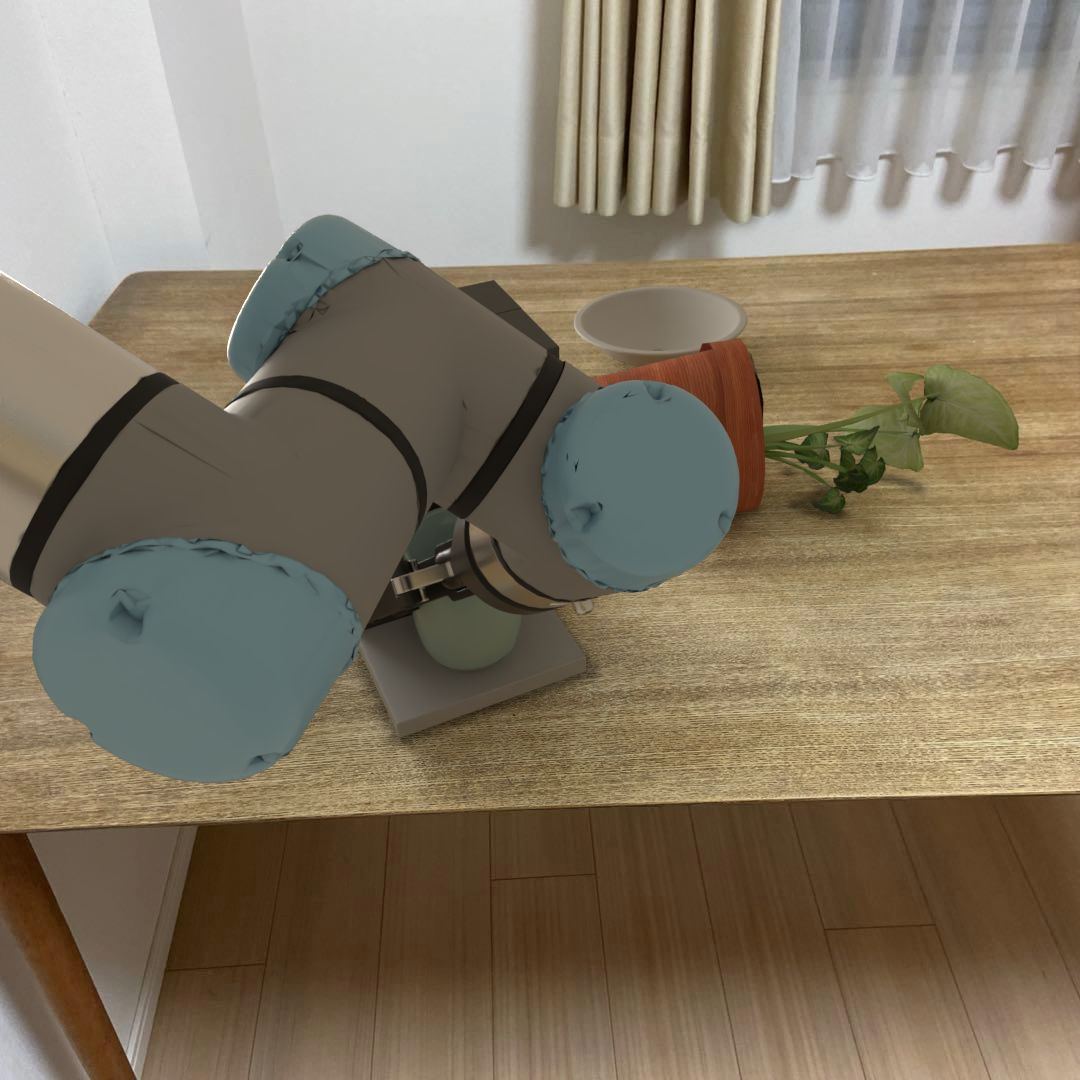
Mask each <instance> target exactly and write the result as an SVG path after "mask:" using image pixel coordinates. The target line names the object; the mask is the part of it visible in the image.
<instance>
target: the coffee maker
mask: <svg viewBox="0 0 1080 1080" xmlns="http://www.w3.org/2000/svg"><path fill="white" fill-rule="evenodd" d="M457 288H458V289H460V290H461V291H463V292H464V293H465V294H467V295H468V296H470V297H471V298H473V299H474V300H476V301H477V302H478V303H480V304H481V305H483V306H484V307H486V308H487V309H488V310H490V311H491V312H493V313H494V314H496V315H497V316H499V317H500V318H501V319H503V320H504V321H506V322H507V323H509V324H510V325H512V326H513V327H514V328H516V329H517V330H519V331H520V332H522V333H523V334H524V335H526V336H527V337H529V338H530V339H532V340H533V341H535V342H536V343H537V344H539V345H540V346H542V347H543V348H545V349H546V350H547V352H549V353H551V354H553V355H554V356H555V357H557V358H558V359H560V346H559V345H558V344H557V343H556V341H554V340H553V338H552V337H550V336H549V334H547V333H546V331H545V330H544V329H543V328H542V327H541V326H540V325H539V324H538V323H536V321H535V320H534V318H532V317H531V316H530V315H529V314H528V313H527V312H526V311H525V310H524V309H523V308H522V306H520V305H519V304H518V303H517V302H516V301H515V299H513V297H512V296H510V294H509V293H508V292H506V290H505V289H504V288H503V287H502V286H501V285H500V284H499V283H498V282H497V281H495V279H492V280H486V281H482V282H478V283H474V284H469V285H464V286H460V287H457ZM437 508H441V506H440V505H438V504H436V503H435V502H433V503H432V505H431V506H430V508H429V510H428V512H429V511H432V510H434V509H437ZM401 560H403V556H402V558H401ZM358 652H359V653H360V656H361V658H362V659H363V661H364V664H365V666H366V668H367V672H369V675H370V678H371V679H372V682H373V684H374V687H375V689H376V691H377V693H378V695H379V697H380V699H381V701H382V704H383V706H384V708H385V710H386V713H387V714H388V717H389V719H390V722H391V724H392V726H393V728H394V731H395V732H396V735H397V737H398V738H399V739H402V738H405V737H407V736H410V735H412V734H415V733H418V732H421V731H424V730H426V729H429V728H433V727H435V726H437V725H441V724H443V723H445V722H449V721H451V720H455V719H457V718H459V717H462V716H465V715H468V714H471V713H474V712H476V711H479V710H483V709H485V708H487V707H490V706H494V705H496V704H498V703H502V702H504V701H508V700H510V699H513V698H516V697H518V696H521V695H524V694H526V693H529V692H533V691H535V690H538V689H540V688H543V687H546V686H548V685H552V684H554V683H558V682H561V681H562V680H565V679H568V678H571V677H574V676H577V675H580V674H582V673H585V672H586V671H587V656H586V655H585V653H584V652H583V650H582V649H581V647H580V646H579V644H578V643H577V642H576V640H575V639H574V637H573V636H572V634H571V633H570V632H569V630H568V628H567V627H566V626H565V624H564V623H563V622H562V620H561V619H560V617H559V616H558V614H557V613H556V611H555V609H553V610H549V611H546V612H542V613H537V614H531V615H522V621H521V627H520V631H519V635H518V638H517V640H516V643H515V645H514V647H513V648H512V650H511V651H510V652H509V653H508V654H507V655H506V656H505V658H503V659H502V660H500V661H499V662H497V663H495V664H493V665H491V666H489V667H486V668H483V669H479V670H474V671H457V670H453V669H449V668H446V667H444V666H442V665H440V664H439V663H438V662H437V661H435V660H434V659H433V658H432V657H431V656H430V655H429V654H428V652H427V651H426V650H425V648H424V647H423V645H422V642H421V640H420V638H419V636H418V634H417V631H416V628H415V625H414V621H413V617H412V613H409V614H407V615H404V616H401V617H398V618H395V619H394V617H393V615H389V616H387V617H384V618H382V619H381V620H380V622H377V623H374V624H372V623H370V624H369V623H367V625H366V627H365V629H364V631H363V633H362V635H361V639H360V643H359V650H358Z"/></svg>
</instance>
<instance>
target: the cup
mask: <svg viewBox="0 0 1080 1080" xmlns="http://www.w3.org/2000/svg"><path fill="white" fill-rule="evenodd" d="M457 518H458V517H457V516H455V515H454V514H452V513H451V512H449V511H448V510H446V509H444V508H443V507H441V508H437V509H434V510H432V511H429V512H427V514H426V515H425V517H424V519H423V521H422V523H421V525H420V526H419V528H418V529H417V531H416V532H415V534H414V536H413V538H412V539H411V541H410V543H409V545H408V547H407V549H406V551H405V552H404V554H403V561H404V560H407V561H409V560H412V559H416V560H417V563H419V562H421V561H423V560H426V559H428V558H430V557H433V556H434V554H435V547H436V546H437V545H439V544H441V543H444V542H446V541H448V540H451V539H453V533H454V528H455V524H456V521H457ZM419 607H420V609H418V610H416V611H414V612H411V613H412V617H413V621H414V625H415V628H416V631H417V634H418V636H419V638H420V640H421V642H422V645H423V647H424V648H425V650H426V651H427V652H428V654H429V655H430V656H431V657H432V658H433V659H434V660H435V661H437V662H438V663H439V664H440V665H442V666H444V667H446V668H449V669H453V670H457V671H474V670H479V669H483V668H486V667H489V666H491V665H493V664H495V663H497V662H499V661H500V660H502V659H503V658H505V656H506V655H507V654H508V653H509V652H510V651H511V650H512V648H513V647H514V645H515V643H516V640H517V638H518V635H519V631H520V627H521V621H522V615H516V614H510V613H506V612H503V611H500V610H497V609H495V608H493V607H491V606H489V605H488V604H486V603H485V602H483V601H482V600H480V599H479V598H478V597H477V596H476V595H474V596H471V597H468V598H465V599H461V600H458V601H452V600H451V599H450V598H449V597H448V596H446V597H443V598H440V599H437V600H435V601H432V602H429V603H426V604H423V605H421V606H419Z"/></svg>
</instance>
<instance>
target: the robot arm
mask: <svg viewBox="0 0 1080 1080" xmlns="http://www.w3.org/2000/svg"><path fill="white" fill-rule="evenodd" d="M458 288H459V287H458V286H455V285H454V284H453V283H451V282H450V281H448V280H447V279H445V278H444V277H443V276H441V275H440V274H438V273H437V272H435V271H434V270H432V269H431V268H429V266H427V265H425V263H423V262H422V261H421V259H420V258H419V257H417V256H416V255H414V254H413V253H411V252H410V251H408V250H405V251H403V250H402V249H399V248H397V247H395V246H394V245H392V244H390V243H388V241H385V240H383V239H382V238H380V237H379V236H376V235H375V234H373V233H371V232H370V231H368V230H366V229H364V228H363V227H362V226H359V225H358V224H356V223H355V222H354V221H351V220H349V219H348V218H346V217H343V216H340V215H336V214H330V213H329V214H321V215H317V216H314V217H312V218H310V219H308V220H306V221H305V222H303V223H302V224H301V225H299V226H298V227H297V228H296V229H295V230H294V231H293V232H292V233H291V234H290V235H289V236H288V238H287V239H286V240H285V241H284V243H283V244H282V246H281V248H280V249H279V251H278V252H277V254H276V255H275V257H274V258H273V259H271V260H270V261H269V262H268V264H266V266H265V268H264V269H263V271H262V272H261V273H260V275H259V277H258V278H257V280H256V282H255V283H254V285H253V287H252V288H251V290H250V292H249V293H248V295H247V297H246V299H245V301H244V303H243V304H242V307H241V308H240V311H239V313H238V315H237V316H236V319H235V321H234V324H233V326H232V328H231V330H230V331H231V332H230V334H229V337H228V342H227V346H226V347H227V349H226V357H227V363H228V366H229V368H230V369H231V371H232V373H234V374H235V375H236V376H237V377H238V378H239V379H240V380H241V381H242V382H244V384H245V385H244V386H243V387H242V389H241V390H240V391H239V392H237V394H236V395H234V396H233V398H232V399H231V400H230V401H229V402H228V403H227V404H226V405H225V406H224V407H223V408H222V407H221V406H219V405H217V404H215V403H214V402H213V401H211V400H209V399H207V398H206V397H204V396H203V395H201V394H200V393H198V392H196V391H195V390H193V389H191V388H190V387H188V386H187V385H185V384H184V383H183V382H179V381H177V380H176V379H174V378H173V377H171V376H169V375H168V374H167V373H165V372H161V371H159V370H158V369H156V368H154V367H153V366H151V365H150V364H149V363H146V362H145V361H143V360H142V359H140V358H139V357H137V356H135V355H134V354H133V353H131V352H129V351H128V350H126V349H125V348H123V347H122V346H120V345H119V344H117V343H115V342H114V341H112V340H110V339H109V338H108V337H106V336H104V335H103V334H101V333H100V332H98V331H96V330H95V329H93V328H92V327H90V326H88V325H87V324H85V323H84V322H83V321H80V320H79V319H77V318H76V317H75V316H73V315H71V314H69V313H68V312H66V311H65V310H63V309H62V308H60V307H59V306H57V305H55V304H54V303H52V302H50V301H49V300H48V299H46V298H44V297H42V296H41V295H40V294H38V293H36V292H35V291H33V290H31V289H30V288H29V287H27V286H25V285H24V284H22V283H21V282H19V281H17V280H16V279H14V278H13V277H11V276H9V275H8V274H6V273H5V272H3V271H2V270H0V581H2V582H3V583H5V584H7V585H9V586H10V587H12V588H14V589H16V590H18V591H20V592H21V593H23V594H25V595H27V596H28V597H31V598H32V599H34V600H35V601H36V602H38V604H41V605H43V606H44V607H45V608H44V609H43V611H42V612H41V614H40V615H39V616H38V620H37V622H36V624H35V626H34V628H33V629H34V630H33V635H32V654H31V655H32V664H33V667H34V670H35V673H36V676H37V678H38V680H39V682H40V684H41V686H42V688H43V689H44V691H45V694H46V695H47V696H48V698H49V700H50V701H51V702H52V704H54V706H55V707H56V708H57V710H59V712H61V713H62V714H64V716H66V717H67V718H70V719H73V720H76V721H77V722H79V723H81V724H83V725H85V727H86V728H87V729H88V730H89V735H90V737H91V740H92V742H93V743H94V744H95V745H96V746H98V747H100V748H101V749H103V750H104V751H105V752H108V753H109V754H111V755H113V756H114V757H116V758H117V759H120V760H122V761H124V762H125V763H127V764H130V765H132V766H134V767H136V768H139V769H142V770H143V771H147V772H150V773H153V774H156V775H159V776H162V777H166V778H170V779H172V780H178V781H183V782H189V783H199V784H220V783H221V784H223V783H230V782H236V781H240V780H244V779H248V778H251V777H253V776H255V775H258V774H260V773H262V772H264V771H267V770H268V769H270V768H271V767H273V766H274V765H275V764H276V763H277V762H279V761H280V760H281V759H282V758H284V757H286V756H288V755H289V754H290V753H291V752H292V751H293V750H294V748H296V745H297V744H298V743H299V741H300V740H301V738H302V736H303V734H304V733H305V732H306V730H307V728H308V726H309V725H310V724H311V722H312V720H313V718H314V717H315V715H316V713H317V711H318V710H319V708H320V707H321V705H322V704H323V702H324V701H325V699H326V697H327V695H328V694H329V692H330V691H331V690H332V687H333V686H334V684H336V683H335V682H336V681H337V679H338V678H339V677H340V676H342V675H344V674H345V673H346V672H347V671H348V669H349V668H350V667H351V666H352V664H353V662H354V661H355V659H356V657H357V655H358V654H359V643H360V639H361V635H362V633H363V631H364V629H365V627H366V625H367V623H369V624H370V623H372V624H374V623H377V622H380V620H381V619H382V618H384V617H387V616H389V615H393V617H394V619H395V618H398V617H401V616H404V615H407V614H409V613H411V612H414V611H416V610H418V609H420V607H419V606H421V605H423V604H426V603H429V602H432V601H435V600H437V599H440V598H443V597H446V596H448V597H449V598H450V599H451V600H452V601H458V600H461V599H465V598H468V597H471V596H474V595H476V596H477V597H478V598H479V599H480V600H482V601H483V602H485V603H486V604H488V605H489V606H491V607H493V608H495V609H497V610H500V611H503V612H506V613H510V614H516V615H531V614H537V613H542V612H546V611H549V610H557V609H561V608H563V607H565V606H569V605H571V606H572V608H573V610H574V612H575V614H577V615H578V616H585V615H587V614H591V613H592V612H593V611H594V609H595V604H594V600H593V599H598V598H599V597H600V598H601V597H606V596H610V595H614V594H620V593H627V594H635V593H643V592H646V591H649V590H650V589H651V588H653V589H654V588H658V587H659V586H660V585H662V584H664V583H665V582H667V581H669V580H671V579H673V578H677V577H679V576H682V575H683V574H684V573H685V572H686V573H687V571H689V570H691V569H693V568H695V567H696V566H698V565H699V564H701V563H702V562H704V560H706V559H707V558H708V557H709V556H710V555H711V554H712V553H713V552H714V551H716V549H717V548H718V546H719V545H720V544H721V543H722V542H723V540H724V538H725V536H727V534H728V532H729V531H730V529H731V526H732V523H733V520H734V518H735V515H736V513H737V512H736V509H737V504H738V497H739V469H738V464H737V458H736V455H735V452H734V448H733V445H732V443H731V440H730V438H729V436H728V434H727V432H726V431H725V429H724V427H723V425H722V424H721V423H720V421H719V420H718V418H717V417H716V416H715V415H714V414H713V412H712V411H711V410H710V409H709V408H708V407H707V406H706V405H705V404H704V403H703V402H702V401H700V400H699V399H698V398H696V397H695V396H694V395H692V394H690V393H689V392H687V391H685V390H683V389H681V388H679V387H677V386H675V385H669V384H666V383H662V382H656V381H651V380H630V381H623V382H619V383H614V384H608V385H607V386H606V387H603V386H602V385H601V384H599V383H598V382H596V381H595V380H593V379H592V378H593V377H591V376H589V375H587V374H586V373H584V372H583V371H581V370H580V369H579V368H577V367H575V366H574V365H572V364H571V363H570V362H568V361H567V360H561V358H559V359H558V358H557V357H555V356H554V355H553V354H551V353H549V352H547V350H546V349H545V348H543V347H542V346H540V345H539V344H537V343H536V342H535V341H533V340H532V339H530V338H529V337H527V336H526V335H524V334H523V333H522V332H520V331H519V330H517V329H516V328H514V327H513V326H512V325H510V324H509V323H507V322H506V321H504V320H503V319H501V318H500V317H499V316H497V315H496V314H494V313H493V312H491V311H490V310H488V309H487V308H486V307H484V306H483V305H481V304H480V303H478V302H477V301H476V300H474V299H473V298H471V297H470V296H468V295H467V294H465V293H464V292H463V291H461V290H460V289H458ZM433 502H435V503H436V504H438V505H440V506H441V507H443V508H444V509H446V510H448V511H449V512H451V513H452V514H454V515H455V516H457V517H458V518H457V521H456V524H455V528H454V533H453V539H451V540H448V541H446V542H444V543H441V544H439V545H437V546H436V547H435V554H434V556H433V557H430V558H428V559H426V560H423V561H421V562H419V563H417V560H416V559H412V560H409V561H407V560H404V561H403V560H401V558H402V556H403V554H404V552H405V551H406V549H407V547H408V545H409V543H410V541H411V539H412V538H413V536H414V534H415V532H416V531H417V529H418V528H419V526H420V525H421V523H422V521H423V519H424V517H425V515H426V514H427V512H428V510H429V508H430V506H431V505H432V503H433Z"/></svg>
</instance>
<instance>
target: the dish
mask: <svg viewBox="0 0 1080 1080" xmlns="http://www.w3.org/2000/svg"><path fill="white" fill-rule="evenodd" d="M747 324H748V314H747V312H746V310H745V309H744V308H743V306H742V305H740V304H739V302H737V301H736V300H733V299H732V298H730V297H728V296H725V295H724V294H720V293H717V292H714V291H710V290H707V289H703V288H696V287H690V286H676V285H653V286H651V285H650V286H640V287H639V286H638V287H632V288H626V289H621V290H617V291H613V292H610V293H607V294H606V293H605V294H604V295H601V296H598V297H596V298H594V299H592V300H591V301H589V302H587V303H586V304H584V305H582V307H581V308H579V309H578V310H577V312H576V314H575V316H574V318H573V327H574V330H575V332H576V334H577V335H578V336H579V337H580V338H582V339H583V340H584V341H585V342H587V343H589V344H591V345H592V346H594V347H595V348H596V349H598V350H599V351H600V352H602V353H603V354H605V355H606V356H608V357H609V358H611V359H613V360H616V361H617V362H620V363H623V364H626V365H630V366H634V367H641V366H645V365H649V364H653V363H657V362H661V361H665V360H670V359H674V358H678V357H682V356H686V355H690V354H694V353H699V351H700V348H701V345H702V343H710V342H718V341H726V340H733V339H737V338H738V337H739V336H740V335H741V334H742V333H743V332H744V330H745V328H746V327H747Z"/></svg>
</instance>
